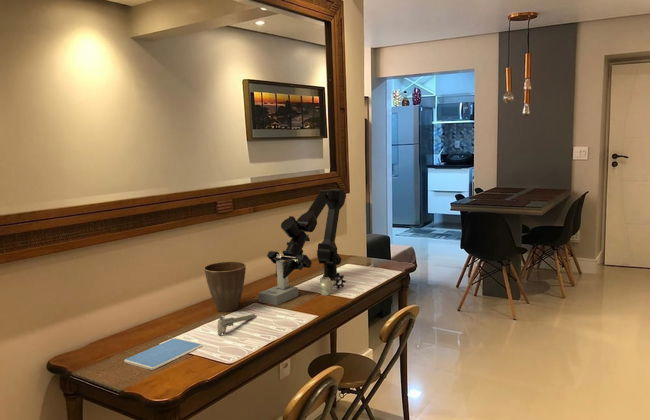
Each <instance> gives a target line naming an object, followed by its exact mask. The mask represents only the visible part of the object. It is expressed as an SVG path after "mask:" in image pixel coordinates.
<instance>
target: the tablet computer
mask: <svg viewBox="0 0 650 420" xmlns="http://www.w3.org/2000/svg"><path fill="white" fill-rule="evenodd" d="M201 346H202V347H203V344H201V343H197V342H194V341H193V342H192V341H188V340H184V339H181V338H177V337H176V338H175V337H174V338H171V339H168V340H167V341H164V342H163V343H160V344H157V345H155V346H153V347H151V348H148V349H146V350H143V351H141V352H138V353H136V354H135V355H132V356H130V357H127V358H125V359H124V361H123V362H124V363H125V364H128V365H130V366H131V365H132V366H136V367H139V368H142V369H145V370H151V371H153V370H157V369H159V368H160V367H162V366H165V365H166V364H168V363H169V364H170V363H171V362H173V361H175V360H177V359H180V358H181V357H183V356H185V355H189V354H190V353H192V352H194V351H196V350H198V349H197V348H199V347H201ZM202 347H201V348H202ZM195 349H196V350H195ZM199 349H200V348H199Z"/></svg>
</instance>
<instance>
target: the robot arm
mask: <svg viewBox="0 0 650 420" xmlns="http://www.w3.org/2000/svg"><path fill="white" fill-rule="evenodd" d="M346 198H347V194H346V192H345V191H344V189H340V188H339V189H337V188H336V189H331V188H330V189H321V190H319V191H318V194H317V196H316V198H315V199H314V201H313V202H312V204H311V205H310V207H309V208H308V210H307V211H306V212H304V213H302V214H300V216H299V217H298V218H297V219H296V218H295V216H293V215H292V216H291V215H290V216H288V218H286V219H284V220H283V221H282V222H281V223H280V228H281V229H282V230H283V232H284V233H285V234H286V235H287V236H288V237H289V238H291V239H290V240H289V241H288V242H287V241H286V245H287V247H286V249H285V250H282V254H280V253H279V252H278V251H277V250H275V251H274V250H270V251H268V252H267V255H266V257H267V258H268V259H269V260H270V261H271V263H272V264H275V267H276V271H275V276H276V278H277V265H276V261H279V260H287V265H286V268H285V271H284V274H283V278H284V279H285V278H286V277H287V276H288V277H289V276H290V274H292V272H293V271H295V270H299V271H302V270H303V269H310V268H311V266H312V264H313V263H312V260H311V259H310V258H309V256H308V255H307V254H304V249H303V248H304V246H305V243H306V242H310V241H311V240H310V237H309V234H307V233H313V232H314V231H315V229H316V227H317V225H318V219H319V216H320V214H321V213H322V212H323V210H324V209H325V206H326V205H327V207H328V208H327V209H328V210H327V215H326V222H325V229H324V234H323V235H324V236H323V240H322V241H321V242H320V243H318V245H317V250H316V257H317V260H318V263H319V264H323V274H322V277H329V278H330V280H331V279H332V278H333V276H332V275H333V274H335V275H337V274H336V273H338V269H337V265H338V266H339V265H340V264H341V263H342V257H341V256H340V255H339V254H338V246H337V245H336V235H337V229H338V222H339V214H340V210H341V209H342V208H343V206H344V205H345V201H346ZM338 278H339V277H336V278H335V279H338Z"/></svg>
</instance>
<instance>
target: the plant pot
mask: <svg viewBox="0 0 650 420" xmlns="http://www.w3.org/2000/svg"><path fill="white" fill-rule="evenodd" d="M246 268H247V265H246V263H244V262H241V261H222V262H214V263H210V264H208V265H206V266H204V268H203V269H204V274H205V279H206V283H207V287H208V289H209V293H210V296H211V298H212V300H213V303H214V306H215V307H216V309H217V311H219V312H221V313H222V312H223V313H226V312H227V311H228V312H234V311H236V310H237V309H239V308H238V307H239V305H240V302H241V299H242V294H243V289H244V284H245V280H246V279H245V278H246V270H247V269H246ZM225 311H226V312H225ZM228 312H227V313H228Z"/></svg>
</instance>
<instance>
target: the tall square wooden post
mask: <svg viewBox="0 0 650 420" xmlns="http://www.w3.org/2000/svg"><path fill="white" fill-rule="evenodd" d="M287 262H288V261H287V260H279V261H276V264H275V266H276V265H277V277H276V278H277V279H276V281H277V283H276V284H277V285H278V289H280V290H286V289H288V288H289V286H290V285H289V275H288V276H287V277H286V278H285V279H284V278H283V274H284V271H285V268H286V265H287Z"/></svg>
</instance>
